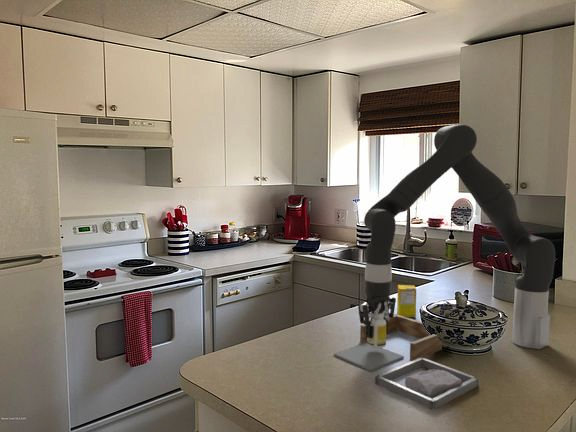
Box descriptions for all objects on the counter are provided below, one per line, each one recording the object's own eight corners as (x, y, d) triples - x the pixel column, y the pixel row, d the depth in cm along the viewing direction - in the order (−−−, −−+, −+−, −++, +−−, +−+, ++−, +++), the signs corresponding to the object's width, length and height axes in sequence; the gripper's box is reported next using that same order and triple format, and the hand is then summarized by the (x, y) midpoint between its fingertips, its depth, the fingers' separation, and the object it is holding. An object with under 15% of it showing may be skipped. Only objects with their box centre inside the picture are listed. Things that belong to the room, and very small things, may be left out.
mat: (403, 358, 141) (403, 356, 141) (370, 371, 132) (370, 369, 132) (366, 343, 151) (366, 342, 151) (333, 355, 143) (333, 353, 143)
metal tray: (477, 385, 124) (478, 378, 123) (432, 410, 112) (433, 401, 112) (421, 364, 137) (421, 357, 137) (375, 383, 125) (375, 376, 125)
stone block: (401, 395, 123) (431, 404, 115) (399, 375, 123) (429, 382, 115) (434, 385, 129) (466, 393, 121) (433, 366, 130) (464, 373, 121)
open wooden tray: (448, 346, 149) (449, 330, 149) (413, 361, 139) (413, 344, 138) (395, 328, 165) (396, 314, 164) (360, 340, 154) (360, 325, 153)
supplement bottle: (387, 342, 145) (388, 310, 144) (384, 349, 140) (385, 316, 139) (368, 340, 147) (369, 308, 146) (365, 347, 142) (366, 314, 141)
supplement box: (413, 314, 180) (414, 284, 179) (415, 319, 175) (416, 289, 173) (396, 313, 181) (397, 284, 180) (398, 318, 175) (399, 288, 174)
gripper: (371, 284, 134) (369, 344, 136) (404, 276, 143) (402, 333, 145) (351, 279, 140) (349, 337, 142) (384, 272, 149) (383, 326, 151)
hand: (376, 335), depth 143 cm, fingers closed on supplement bottle, 5 cm apart
